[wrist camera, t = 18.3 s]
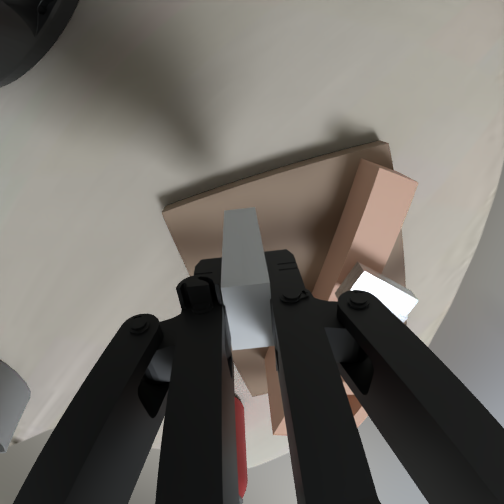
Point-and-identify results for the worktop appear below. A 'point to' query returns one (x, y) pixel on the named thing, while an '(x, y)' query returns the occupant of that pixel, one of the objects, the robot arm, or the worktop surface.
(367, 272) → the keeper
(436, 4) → the worktop surface
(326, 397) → the robot arm
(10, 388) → the cup
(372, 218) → the link
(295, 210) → the board
